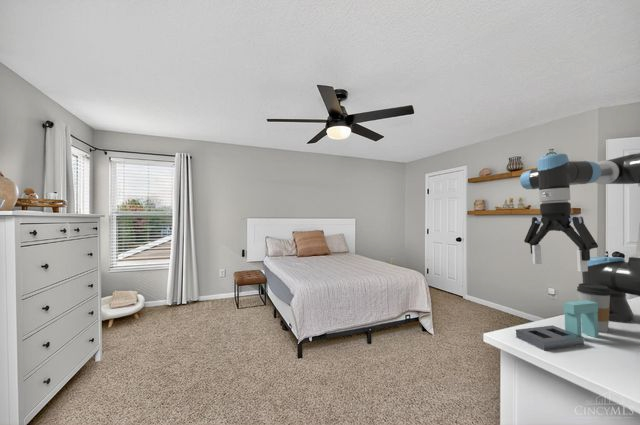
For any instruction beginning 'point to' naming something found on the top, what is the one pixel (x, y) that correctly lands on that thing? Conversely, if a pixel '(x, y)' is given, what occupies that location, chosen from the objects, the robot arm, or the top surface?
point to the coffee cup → (597, 301)
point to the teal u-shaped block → (581, 317)
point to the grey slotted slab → (549, 337)
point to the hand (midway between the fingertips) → (558, 267)
